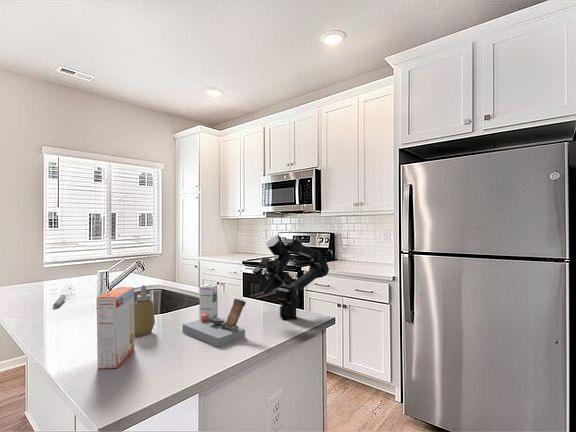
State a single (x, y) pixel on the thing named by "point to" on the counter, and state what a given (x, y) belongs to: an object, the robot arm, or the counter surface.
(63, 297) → the kitchen whisk
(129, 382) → the counter surface
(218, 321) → the block
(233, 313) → the lever
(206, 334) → the panel
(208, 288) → the syrup box
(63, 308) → the counter surface
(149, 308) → the squeeze bottle
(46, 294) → the counter surface
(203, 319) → the button
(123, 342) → the cracker box
